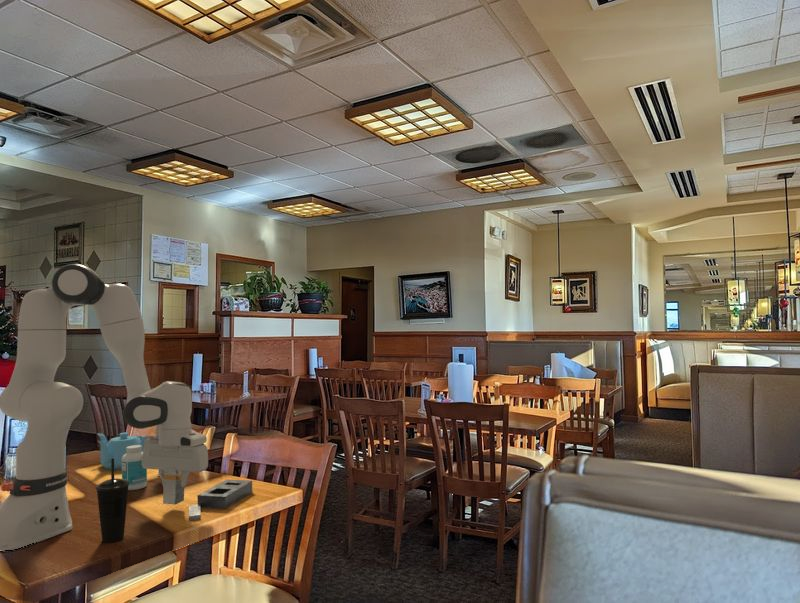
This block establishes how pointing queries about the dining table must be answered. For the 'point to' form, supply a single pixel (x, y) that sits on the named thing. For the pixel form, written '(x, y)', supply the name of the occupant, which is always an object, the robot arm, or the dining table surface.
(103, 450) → the teapot
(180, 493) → the small grey carton
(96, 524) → the dining table surface
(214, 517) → the dining table surface
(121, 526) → the drinking cup
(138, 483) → the pill bottle
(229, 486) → the socket block
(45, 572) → the dining table surface
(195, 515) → the light grey bar
